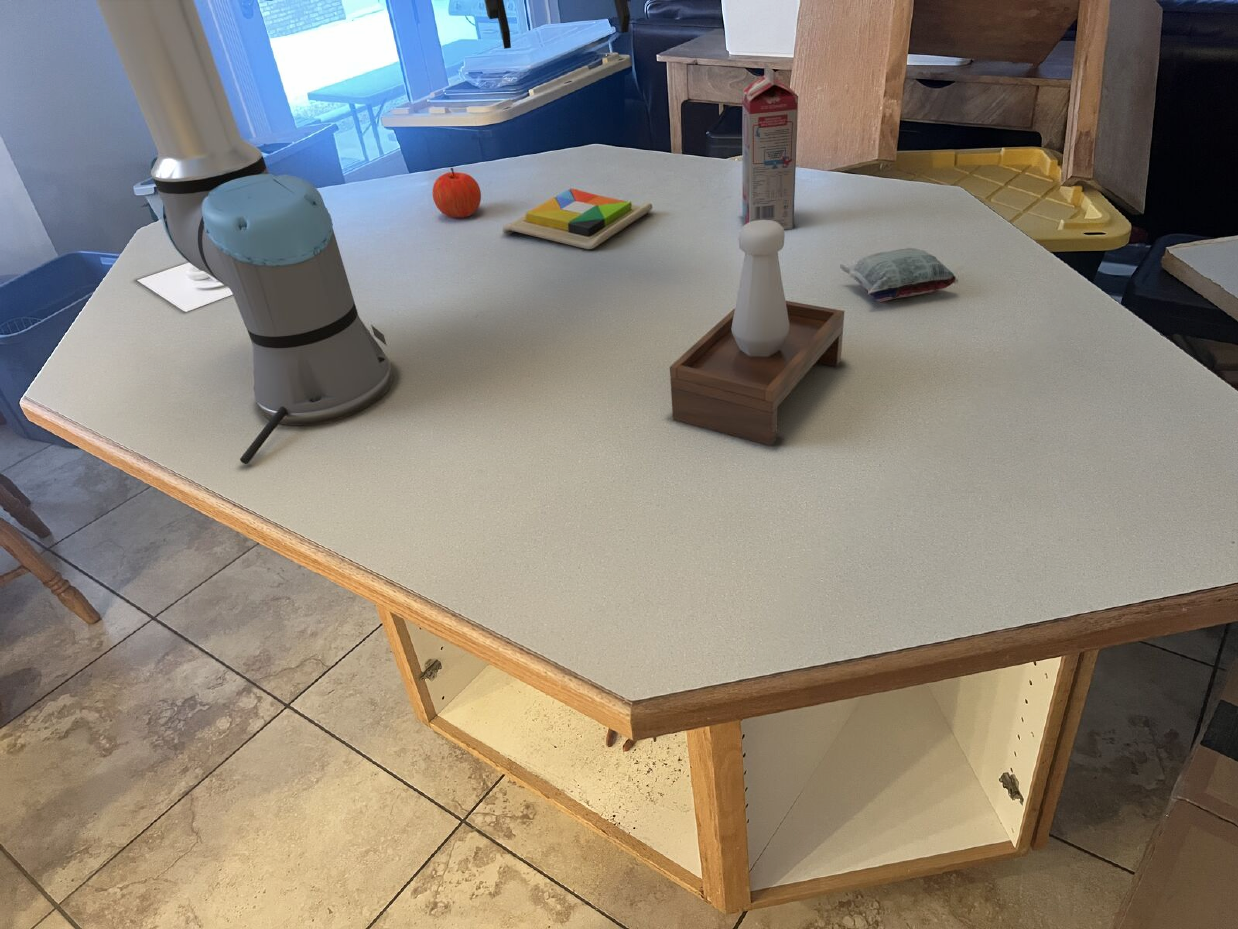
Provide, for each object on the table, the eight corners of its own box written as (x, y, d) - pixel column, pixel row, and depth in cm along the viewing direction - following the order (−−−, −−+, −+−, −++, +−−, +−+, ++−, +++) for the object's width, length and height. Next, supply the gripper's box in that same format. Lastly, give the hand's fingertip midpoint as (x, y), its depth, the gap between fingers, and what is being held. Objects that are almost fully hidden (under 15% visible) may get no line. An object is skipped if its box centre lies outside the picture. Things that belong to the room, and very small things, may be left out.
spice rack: (771, 446, 79) (772, 391, 75) (672, 419, 84) (669, 366, 81) (840, 362, 91) (844, 310, 87) (749, 342, 96) (750, 293, 92)
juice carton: (749, 232, 124) (750, 74, 111) (742, 217, 129) (742, 64, 116) (793, 228, 123) (799, 69, 111) (784, 213, 129) (789, 60, 116)
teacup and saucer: (182, 281, 128) (171, 256, 126) (231, 264, 132) (221, 240, 130) (204, 295, 123) (194, 269, 120) (254, 276, 127) (245, 251, 124)
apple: (429, 217, 142) (418, 170, 138) (467, 204, 147) (458, 158, 142) (454, 226, 137) (444, 178, 133) (493, 212, 141) (484, 165, 137)
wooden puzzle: (598, 252, 123) (596, 229, 120) (499, 237, 131) (496, 216, 129) (656, 213, 134) (654, 191, 132) (561, 201, 143) (559, 181, 141)
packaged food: (838, 283, 106) (841, 247, 103) (924, 269, 108) (929, 233, 105) (867, 312, 100) (871, 274, 97) (958, 297, 101) (965, 259, 98)
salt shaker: (787, 362, 82) (792, 235, 74) (729, 361, 83) (728, 236, 75) (789, 334, 86) (793, 212, 79) (734, 333, 87) (733, 213, 80)
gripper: (632, -114, 101) (669, 40, 97) (428, -91, 98) (459, 68, 94) (638, -171, 93) (679, -7, 90) (418, -148, 90) (452, 23, 87)
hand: (567, 32), depth 92 cm, fingers open, 13 cm apart
